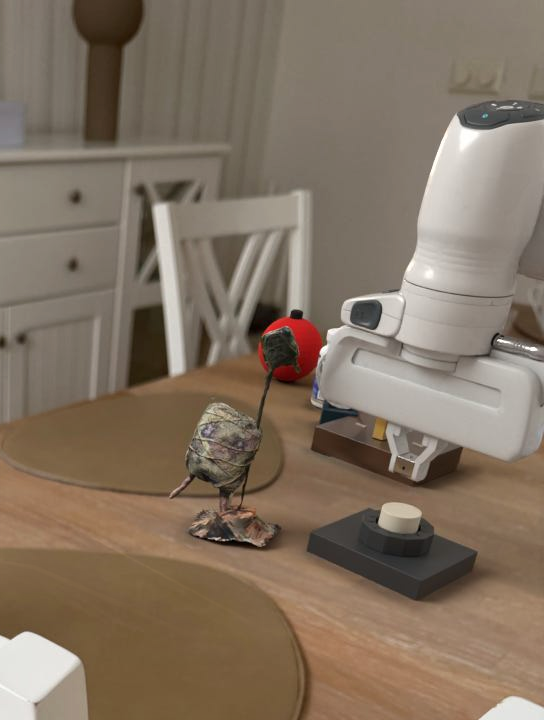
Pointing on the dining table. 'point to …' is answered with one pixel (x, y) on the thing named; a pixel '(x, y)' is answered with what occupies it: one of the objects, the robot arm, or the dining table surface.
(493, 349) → the robot arm
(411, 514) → the bell button
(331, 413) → the watch
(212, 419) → the stone sculpture
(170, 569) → the dining table surface
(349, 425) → the plate
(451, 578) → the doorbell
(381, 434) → the block
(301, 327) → the ornament
